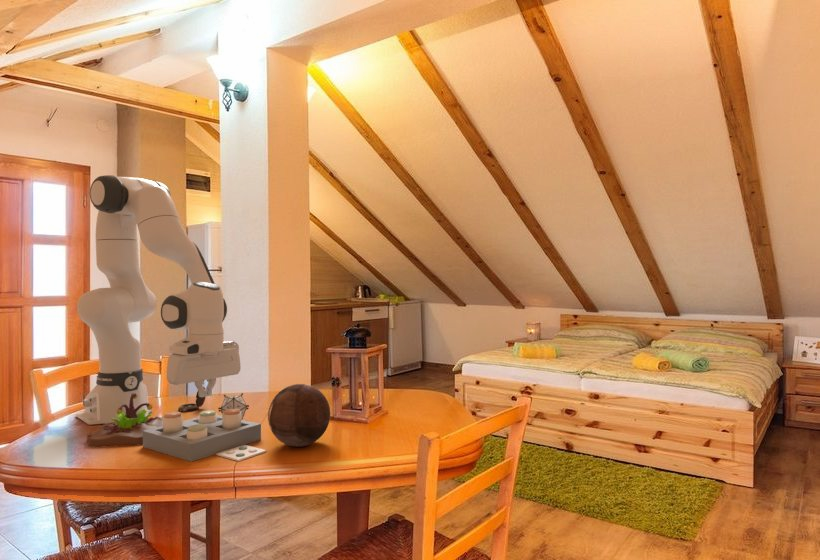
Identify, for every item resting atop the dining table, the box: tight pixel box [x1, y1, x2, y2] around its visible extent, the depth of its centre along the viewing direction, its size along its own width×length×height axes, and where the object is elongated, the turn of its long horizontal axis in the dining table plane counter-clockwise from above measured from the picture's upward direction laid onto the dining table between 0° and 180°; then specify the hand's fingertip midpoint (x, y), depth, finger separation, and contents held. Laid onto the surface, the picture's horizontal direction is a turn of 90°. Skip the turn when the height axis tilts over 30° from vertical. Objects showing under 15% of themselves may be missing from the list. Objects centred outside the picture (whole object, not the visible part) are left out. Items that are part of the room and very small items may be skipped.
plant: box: [86, 393, 163, 448], centre depth 148 cm, size 20×20×11 cm
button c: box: [187, 425, 207, 441], centre depth 133 cm, size 5×5×6 cm
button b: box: [198, 410, 218, 424], centre depth 147 cm, size 5×5×6 cm
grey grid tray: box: [142, 414, 262, 462], centre depth 140 cm, size 20×20×4 cm
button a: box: [162, 411, 184, 434], centre depth 139 cm, size 5×5×6 cm
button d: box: [221, 409, 242, 430], centre depth 141 cm, size 5×5×6 cm
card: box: [216, 444, 267, 462], centre depth 131 cm, size 8×8×1 cm
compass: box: [177, 386, 206, 413], centre depth 174 cm, size 8×8×7 cm
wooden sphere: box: [267, 383, 331, 448], centre depth 137 cm, size 15×15×15 cm
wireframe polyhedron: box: [217, 392, 250, 420], centre depth 159 cm, size 9×8×10 cm
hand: (205, 396), depth 147 cm, fingers closed
